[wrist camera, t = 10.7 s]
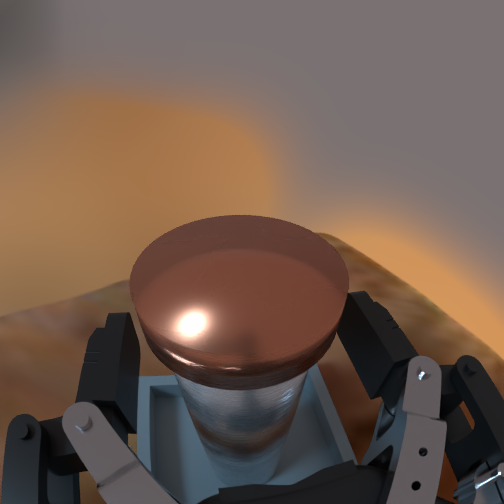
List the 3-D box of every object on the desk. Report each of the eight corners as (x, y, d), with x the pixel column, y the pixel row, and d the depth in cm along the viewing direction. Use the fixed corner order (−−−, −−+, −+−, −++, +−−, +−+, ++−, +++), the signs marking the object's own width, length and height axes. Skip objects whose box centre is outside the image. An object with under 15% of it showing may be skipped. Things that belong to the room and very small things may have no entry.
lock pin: (211, 499, 13) (114, 364, 4) (201, 434, 16) (143, 223, 8) (291, 487, 13) (389, 326, 5) (273, 424, 17) (306, 210, 9)
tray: (156, 552, 9) (144, 552, 8) (147, 394, 20) (139, 376, 18) (362, 518, 11) (377, 513, 10) (308, 377, 22) (314, 358, 20)
